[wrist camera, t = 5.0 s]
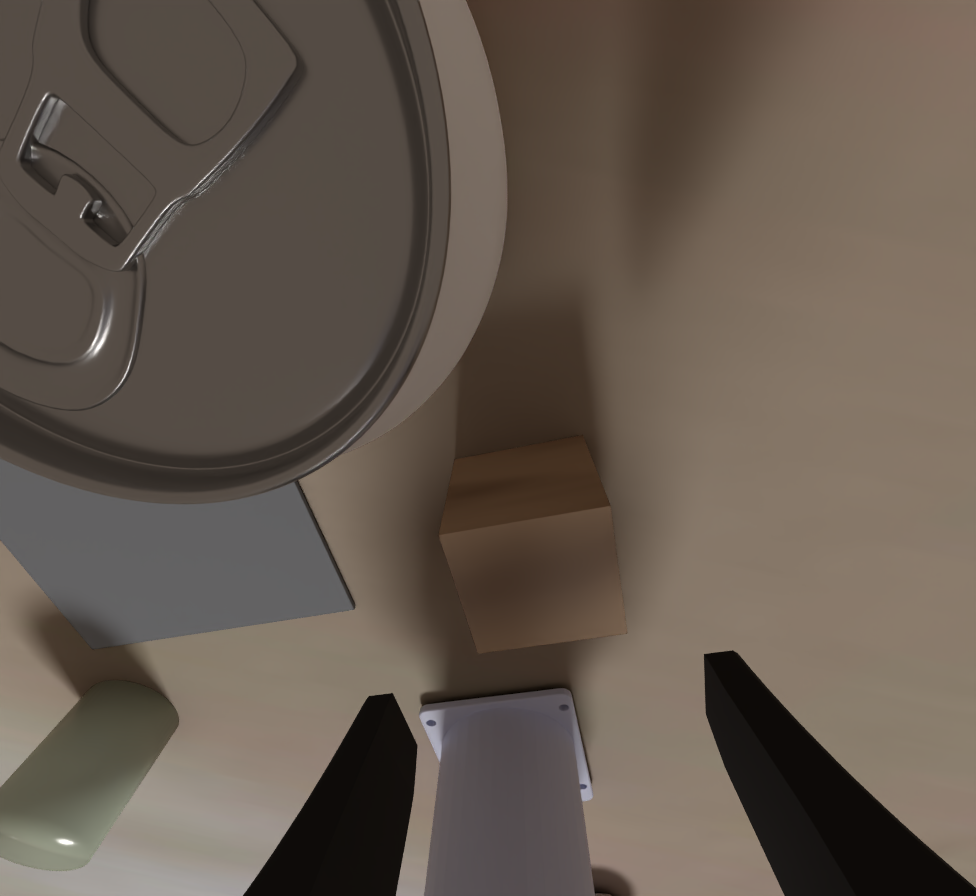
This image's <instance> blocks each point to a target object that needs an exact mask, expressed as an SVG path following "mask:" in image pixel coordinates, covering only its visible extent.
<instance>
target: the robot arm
mask: <svg viewBox="0 0 976 896" xmlns="http://www.w3.org/2000/svg"><path fill="white" fill-rule="evenodd" d="M704 670H705V702H706V716H707V718H708V721H709V724H710V727H711V730H712V733H713V735H714V738H715V741H716V744H717V747H718V749H719V752H720V755H721V757H722V760H723V763H724V766H725V768H726V770H727V772H728V775H729V777H730V779H731V781H732V783H733V786H734V788H735V790H736V792H737V794H738V796H739V799H740V801H741V803H742V805H743V807H744V809H745V812H746V814H747V816H748V818H749V820H750V822H751V824H752V827H753V829H754V831H755V833H756V835H757V837H758V839H759V842H760V844H761V846H762V848H763V850H764V852H765V854H766V857H767V859H768V861H769V863H770V865H771V867H772V870H773V872H774V874H775V876H776V878H777V880H778V882H779V885H780V887H781V889H782V891H783V893H784V895H785V896H976V888H975V887H974V886H973V885H972V884H971V883H969V882H968V881H967V880H966V879H965V878H963V877H962V876H961V875H960V874H959V873H958V872H957V871H955V870H954V869H953V868H952V867H951V866H950V865H948V864H947V863H946V862H945V861H944V860H943V859H942V858H940V857H939V856H938V855H937V854H936V853H935V852H934V851H932V850H931V849H930V848H929V847H928V846H927V845H926V844H924V843H923V842H922V841H921V840H920V839H919V838H918V837H917V836H916V835H914V834H913V833H912V832H911V831H910V830H909V829H908V828H907V827H906V826H904V825H903V824H902V823H901V822H900V821H899V820H898V819H897V818H896V817H895V816H894V815H892V814H891V813H890V812H889V811H888V810H887V809H886V808H885V807H884V806H883V805H882V804H881V803H880V802H879V801H878V800H876V799H875V798H874V797H873V796H872V795H871V794H870V793H869V792H868V791H867V790H866V789H865V788H864V787H863V786H862V785H861V784H860V783H859V782H857V781H856V780H855V779H854V778H853V777H852V776H851V775H850V774H849V773H848V772H847V771H846V770H845V769H844V768H843V767H842V766H841V765H840V764H839V763H838V762H837V761H836V760H835V759H834V758H833V757H832V756H831V755H830V754H829V753H828V752H827V751H826V750H825V749H824V748H823V747H822V746H821V745H820V744H819V743H818V742H817V741H816V739H815V738H814V737H813V736H812V735H811V734H810V733H809V732H808V731H807V730H806V729H805V728H804V727H803V726H802V725H801V724H800V723H799V722H798V721H797V720H796V719H795V718H794V717H793V716H792V715H791V713H790V712H789V711H788V710H787V709H786V708H785V707H784V706H783V705H782V704H781V703H780V701H779V700H778V699H777V698H776V697H775V696H774V695H773V694H772V693H771V692H770V690H769V689H768V688H767V687H766V686H765V685H764V684H763V683H762V681H761V680H760V679H759V678H758V677H757V676H756V674H755V673H754V672H753V671H752V670H751V669H750V667H749V666H748V665H747V664H746V663H745V661H744V660H743V659H742V658H741V657H740V655H739V654H738V653H736V652H735V651H725V652H717V653H709V654H704ZM419 717H420V720H421V722H422V724H423V726H424V729H425V731H426V733H427V735H428V737H429V740H430V742H431V744H432V746H433V749H434V751H435V753H436V755H437V758H438V760H439V762H440V767H439V776H438V784H437V792H436V801H435V809H434V817H433V826H432V834H431V842H430V851H429V859H428V867H427V876H426V884H425V892H424V896H595V892H594V885H593V877H592V870H591V863H590V855H589V848H588V841H587V834H586V826H585V819H584V812H583V805H582V801H588V800H590V799H592V797H593V790H592V785H591V781H590V776H589V772H588V767H587V762H586V758H585V753H584V749H583V744H582V740H581V735H580V731H579V726H578V722H577V717H576V713H575V708H574V704H573V699H572V694H571V692H570V691H569V690H567V689H565V688H557V689H549V690H541V691H533V692H525V693H516V694H508V695H500V696H492V697H483V698H475V699H467V700H459V701H451V702H442V703H434V704H427V705H424V706H422V707H421V709H420V713H419ZM416 758H417V743H416V741H415V739H414V737H413V735H412V733H411V731H410V729H409V727H408V724H407V722H406V720H405V718H404V716H403V714H402V712H401V710H400V707H399V705H398V703H397V701H396V699H395V697H394V695H393V693H391V694H383V695H375V696H369V697H368V698H367V699H366V701H365V703H364V704H363V706H362V708H361V710H360V711H359V713H358V715H357V717H356V718H355V720H354V722H353V724H352V725H351V727H350V729H349V731H348V732H347V734H346V736H345V738H344V739H343V741H342V743H341V745H340V746H339V748H338V750H337V751H336V753H335V755H334V757H333V758H332V760H331V762H330V763H329V765H328V767H327V768H326V770H325V772H324V773H323V775H322V777H321V778H320V780H319V782H318V783H317V785H316V786H315V788H314V790H313V791H312V793H311V795H310V796H309V798H308V800H307V801H306V803H305V804H304V806H303V808H302V809H301V811H300V812H299V814H298V815H297V817H296V818H295V820H294V822H293V823H292V825H291V826H290V828H289V829H288V831H287V832H286V834H285V835H284V837H283V838H282V840H281V841H280V843H279V844H278V846H277V847H276V849H275V851H274V852H273V854H272V855H271V857H270V858H269V859H268V861H267V862H266V864H265V865H264V867H263V868H262V870H261V871H260V872H259V874H258V875H257V877H256V878H255V880H254V881H253V882H252V884H251V885H250V887H249V888H248V889H247V891H246V892H245V894H244V895H243V896H396V891H397V885H398V880H399V874H400V869H401V863H402V858H403V852H404V847H405V841H406V836H407V830H408V825H409V819H410V813H411V808H412V802H413V795H414V784H415V773H416Z"/></svg>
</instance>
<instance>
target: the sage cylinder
mask: <svg viewBox="0 0 976 896" xmlns="http://www.w3.org/2000/svg"><path fill="white" fill-rule="evenodd" d="M178 725H179V716H178V713H177V711H176V709H175V708H174V706H173V705H172V704H171V703H170V702H169V701H168V700H167V699H166V698H165V697H163V696H162V695H161V694H159V693H158V692H156V691H154V690H152V689H150V688H148V687H146V686H143V685H140V684H137V683H133V682H128V681H120V680H111V681H104V682H100V683H97V684H95V685H94V686H92V687H91V688H90V689H89V690H88V691H87V692H86V694H85V695H84V696H83V697H82V698H81V699H80V700H79V701H78V702H77V703H76V705H75V706H74V707H73V708H72V709H71V710H70V711H69V712H68V713H67V715H66V716H65V717H64V718H63V719H62V720H61V721H60V722H59V723H58V724H57V726H56V727H55V728H54V729H53V730H52V731H51V732H50V733H49V734H48V736H47V737H46V738H45V739H44V740H43V741H42V742H41V743H40V744H39V745H38V747H37V748H36V749H35V750H34V751H33V752H32V753H31V754H30V755H29V756H28V758H27V759H26V760H25V761H24V762H23V763H22V764H21V765H20V766H19V768H18V769H17V770H16V771H15V772H14V773H13V774H12V775H11V776H10V777H9V779H8V780H7V781H6V782H5V783H4V784H3V785H2V786H1V787H0V857H1V858H4V859H6V860H8V861H11V862H14V863H16V864H20V865H23V866H27V867H31V868H35V869H41V870H49V871H69V870H75V869H78V868H81V867H83V866H85V865H86V864H87V863H88V862H89V861H90V859H91V858H92V856H93V855H94V853H95V852H96V850H97V849H98V847H99V846H100V844H101V843H102V841H103V840H104V838H105V837H106V835H107V834H108V832H109V831H110V829H111V828H112V826H113V825H114V823H115V822H116V820H117V818H118V817H119V815H120V814H121V812H122V811H123V809H124V808H125V806H126V805H127V803H128V802H129V800H130V799H131V797H132V796H133V794H134V793H135V791H136V790H137V788H138V787H139V785H140V784H141V782H142V780H143V779H144V777H145V776H146V774H147V773H148V771H149V770H150V768H151V767H152V765H153V764H154V762H155V761H156V759H157V758H158V756H159V755H160V753H161V752H162V750H163V749H164V747H165V746H166V744H167V743H168V741H169V739H170V738H171V736H172V735H173V733H174V732H175V730H176V729H177V727H178Z"/></svg>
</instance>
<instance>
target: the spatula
mask: <svg viewBox="0 0 976 896" xmlns="http://www.w3.org/2000/svg"><path fill="white" fill-rule="evenodd" d="M595 896H611V895H610V894H601V893H595Z"/></svg>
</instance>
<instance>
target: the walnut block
mask: <svg viewBox="0 0 976 896" xmlns="http://www.w3.org/2000/svg"><path fill="white" fill-rule="evenodd" d="M439 538H440V541H441V544H442V547H443V550H444V553H445V556H446V559H447V562H448V565H449V568H450V572H451V575H452V578H453V581H454V584H455V587H456V590H457V593H458V596H459V599H460V602H461V605H462V608H463V611H464V614H465V617H466V620H467V623H468V626H469V629H470V632H471V635H472V638H473V641H474V644H475V647H476V650H477V653H478V654H481V653H489V652H496V651H503V650H511V649H518V648H525V647H533V646H540V645H548V644H555V643H562V642H570V641H577V640H584V639H592V638H599V637H606V636H614V635H621V634H627V627H626V619H625V612H624V604H623V596H622V589H621V581H620V574H619V566H618V559H617V551H616V543H615V536H614V528H613V521H612V513H611V506H610V503H609V501H608V498H607V496H606V493H605V491H604V488H603V485H602V483H601V480H600V478H599V475H598V473H597V470H596V468H595V465H594V463H593V460H592V457H591V455H590V452H589V450H588V447H587V445H586V442H585V440H584V437H583V435H580V436H575V437H569V438H564V439H559V440H554V441H548V442H543V443H538V444H533V445H527V446H522V447H517V448H512V449H506V450H501V451H496V452H491V453H485V454H480V455H475V456H470V457H464V458H459V459H455V460H454V465H453V470H452V474H451V479H450V484H449V488H448V493H447V498H446V502H445V507H444V512H443V516H442V521H441V526H440V530H439Z"/></svg>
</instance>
